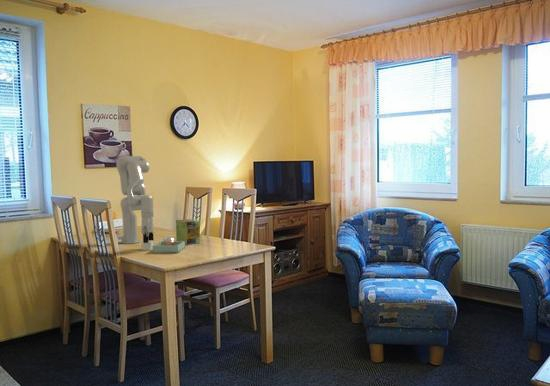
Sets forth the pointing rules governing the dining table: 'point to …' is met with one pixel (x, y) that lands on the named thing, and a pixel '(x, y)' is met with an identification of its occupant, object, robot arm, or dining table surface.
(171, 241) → the clear brown jar
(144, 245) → the grey block
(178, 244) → the tote
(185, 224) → the protein box
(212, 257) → the dining table surface
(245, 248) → the dining table surface
